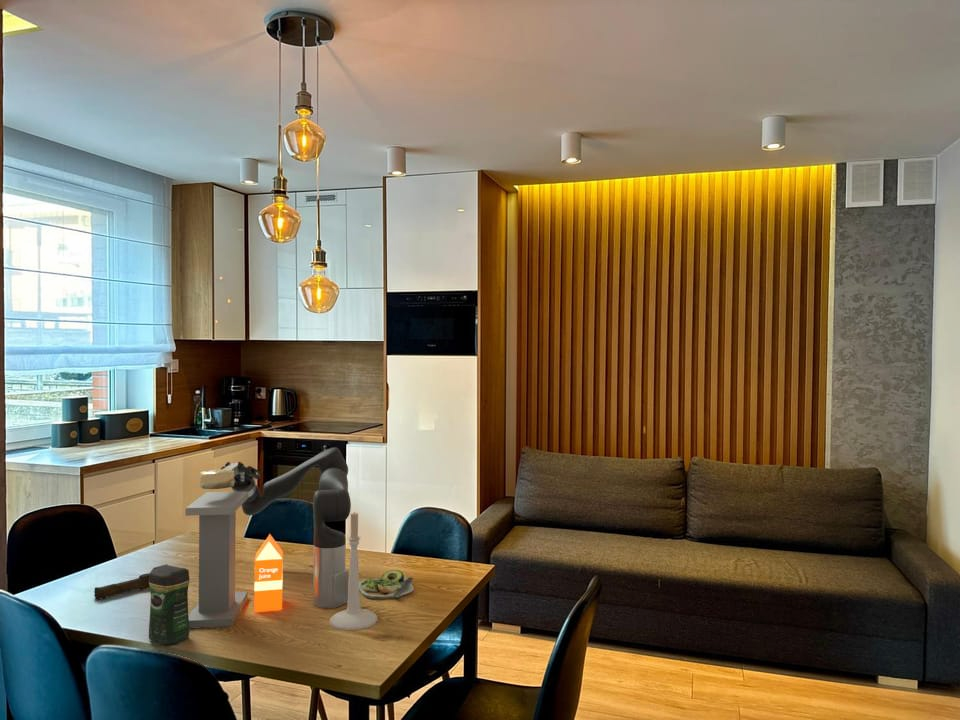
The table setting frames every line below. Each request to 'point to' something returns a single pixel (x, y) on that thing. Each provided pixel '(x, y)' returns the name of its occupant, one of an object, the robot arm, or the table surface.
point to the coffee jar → (169, 604)
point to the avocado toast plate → (387, 585)
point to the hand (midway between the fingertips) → (233, 464)
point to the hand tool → (122, 587)
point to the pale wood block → (219, 477)
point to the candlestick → (353, 591)
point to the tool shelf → (217, 559)
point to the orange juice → (268, 577)
